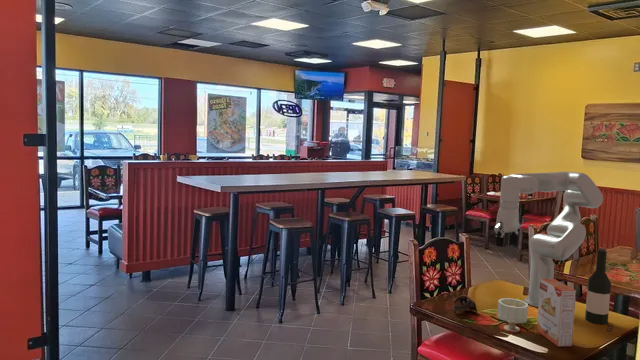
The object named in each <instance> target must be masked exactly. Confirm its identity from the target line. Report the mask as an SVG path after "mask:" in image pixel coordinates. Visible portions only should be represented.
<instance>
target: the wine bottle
mask: <svg viewBox="0 0 640 360" xmlns="http://www.w3.org/2000/svg"><path fill="white" fill-rule="evenodd" d="M606 250H607V249H606V248H603V247H601V248H598V250H596V251H597V252H596V260H595V261H596V263H595V270H594V272H593V273H592V274H591V275H590V276H589V277H588V278H587V288H586V289H587V290H586V300H585V301H586V302H585V305H586V306H585V314H584V315H585V316H584V320H585V321H586V322H589V323H592V324H594V325H603V326H604V325H608V324H609V323H608V322H609V312H610V301H611V300H610V299H611V289H612V282H611V281H610V279H609V276H608V275H607V273H606V264H607V253H608V252H607V251H606Z"/></svg>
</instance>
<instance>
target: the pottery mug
mask: <svg viewBox="0 0 640 360" xmlns="http://www.w3.org/2000/svg"><path fill="white" fill-rule="evenodd" d="M458 301H459V303H460V304H456V303H457V302H458ZM452 302H453V306H452V311H453V312H454V313H456V312H458V313H461V312H465V311H468V312H469V311H474V312H475V314H476V315H478V308H477V305H476V302H475V300H473V299H472V298H471V297H469V296H468V295H466V294H461V295H459V296H457V297H455V298H454V300H453V301H452Z"/></svg>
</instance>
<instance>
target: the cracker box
mask: <svg viewBox="0 0 640 360" xmlns="http://www.w3.org/2000/svg"><path fill="white" fill-rule="evenodd" d="M576 296H577V289H574V288H572V287H570V286H569V285H566V284H564V283H563V282H561V281H559V280H557V279H556V278H553V279H540V292H539V307H537V308H538V310H537V322H536V323H537V324H536V325H537V326H536V332H538V333H539V334H540V335H542V336H543V337H545V339H547V340H548V341H549V342H550V343H552V344H553V345H555V346H556V347H558V348H559V347H573V341H574V340H573V338H574V336H573V335H574V325H575V313H576V312H575V311H576V298H577V297H576Z"/></svg>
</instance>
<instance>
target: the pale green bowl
mask: <svg viewBox="0 0 640 360" xmlns="http://www.w3.org/2000/svg"><path fill="white" fill-rule="evenodd" d="M511 305H513V306H515V307H513V306H511ZM496 315H497V318H498V319H499V320H501V321H502V322H507V323H508V321H509V320H513V321H516V322H517V324H525V323H528V317H529V305H528V304H527V303H526V302H524V300H521V299H517V298H510V297H506V298H505V297H503V298H500V299H498V301H497V313H496Z"/></svg>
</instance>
